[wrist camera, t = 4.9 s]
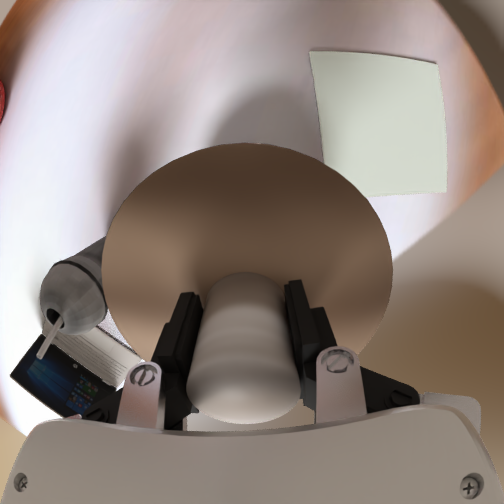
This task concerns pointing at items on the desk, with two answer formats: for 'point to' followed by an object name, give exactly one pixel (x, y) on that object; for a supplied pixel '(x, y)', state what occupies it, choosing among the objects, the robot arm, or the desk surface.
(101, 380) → the laptop
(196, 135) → the desk surface
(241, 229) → the lid
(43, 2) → the desk surface
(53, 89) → the desk surface
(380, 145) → the mat
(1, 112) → the plant pot
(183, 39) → the desk surface
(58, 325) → the beverage cup
